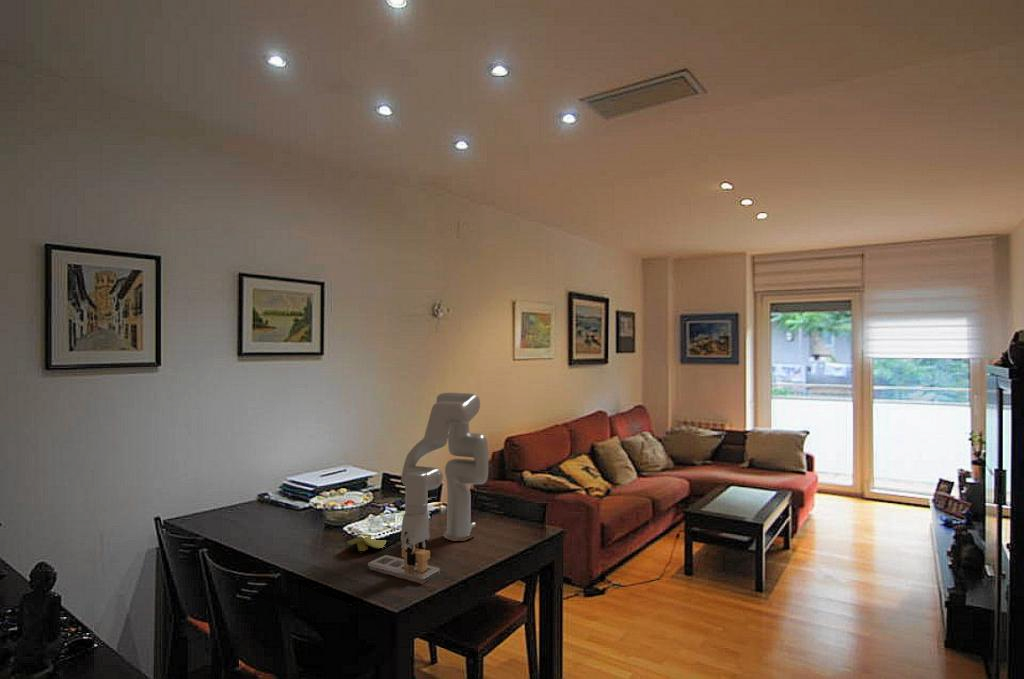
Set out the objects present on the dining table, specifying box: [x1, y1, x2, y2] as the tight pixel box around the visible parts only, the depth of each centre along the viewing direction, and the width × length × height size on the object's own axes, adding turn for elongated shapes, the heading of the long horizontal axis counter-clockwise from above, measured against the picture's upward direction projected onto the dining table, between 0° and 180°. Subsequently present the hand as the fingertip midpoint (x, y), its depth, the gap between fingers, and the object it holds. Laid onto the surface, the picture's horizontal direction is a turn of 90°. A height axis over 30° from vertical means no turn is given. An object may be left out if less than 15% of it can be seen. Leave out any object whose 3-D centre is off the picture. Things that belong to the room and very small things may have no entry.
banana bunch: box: [347, 525, 392, 552], centre depth 231 cm, size 20×7×10 cm
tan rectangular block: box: [401, 546, 431, 573], centre depth 204 cm, size 4×9×6 cm, turn 60°
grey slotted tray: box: [367, 554, 440, 579], centre depth 207 cm, size 9×24×2 cm, turn 60°
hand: (415, 562), depth 204 cm, fingers closed on tan rectangular block, 3 cm apart
